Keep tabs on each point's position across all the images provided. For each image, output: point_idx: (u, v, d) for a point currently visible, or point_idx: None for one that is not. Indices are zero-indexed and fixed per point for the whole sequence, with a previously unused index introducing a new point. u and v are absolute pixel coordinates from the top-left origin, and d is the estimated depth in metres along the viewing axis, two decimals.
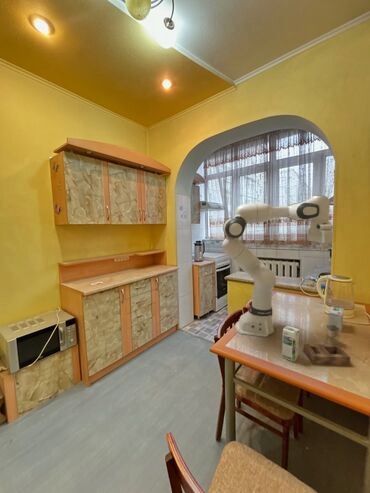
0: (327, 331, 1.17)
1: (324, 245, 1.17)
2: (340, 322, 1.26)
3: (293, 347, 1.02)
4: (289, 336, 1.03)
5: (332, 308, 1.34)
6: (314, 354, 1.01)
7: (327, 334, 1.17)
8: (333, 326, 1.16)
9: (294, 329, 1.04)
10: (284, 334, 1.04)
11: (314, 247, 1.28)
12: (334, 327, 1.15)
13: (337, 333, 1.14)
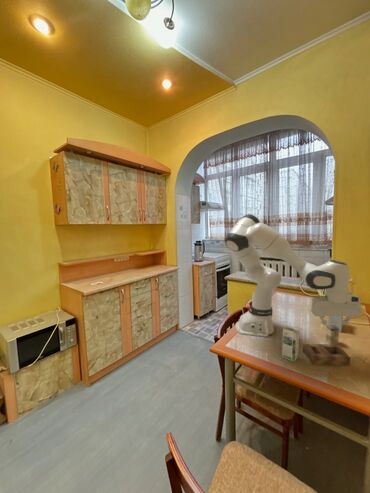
0: (327, 331, 1.17)
1: None
2: (340, 322, 1.26)
3: (293, 347, 1.02)
4: (289, 336, 1.03)
5: None
6: (314, 354, 1.01)
7: (327, 334, 1.17)
8: (333, 326, 1.16)
9: (294, 329, 1.04)
10: (284, 334, 1.04)
11: None
12: (334, 327, 1.15)
13: (337, 333, 1.14)
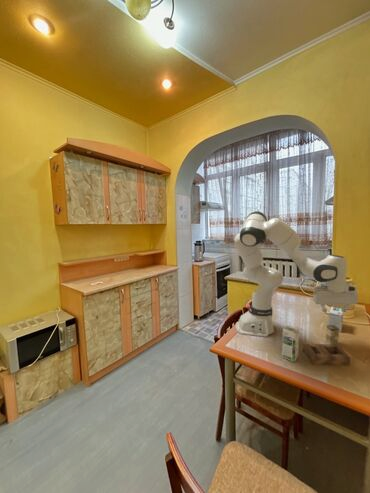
0: (327, 331, 1.17)
1: None
2: (340, 322, 1.26)
3: (293, 347, 1.02)
4: (289, 336, 1.03)
5: (332, 308, 1.34)
6: (314, 354, 1.01)
7: (327, 334, 1.17)
8: (333, 326, 1.16)
9: (294, 329, 1.04)
10: (284, 334, 1.04)
11: None
12: (334, 327, 1.15)
13: (337, 333, 1.14)
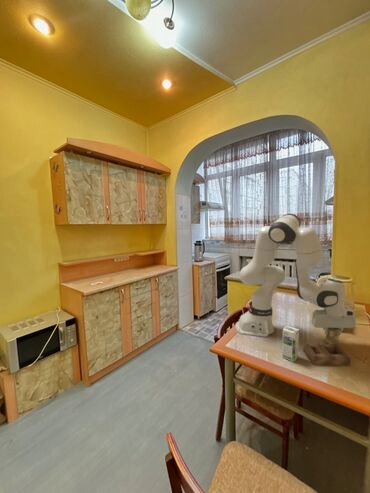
0: None
1: None
2: None
3: (293, 347, 1.02)
4: (289, 336, 1.03)
5: None
6: (314, 354, 1.01)
7: None
8: None
9: (294, 329, 1.04)
10: (284, 334, 1.04)
11: None
12: None
13: (337, 333, 1.14)
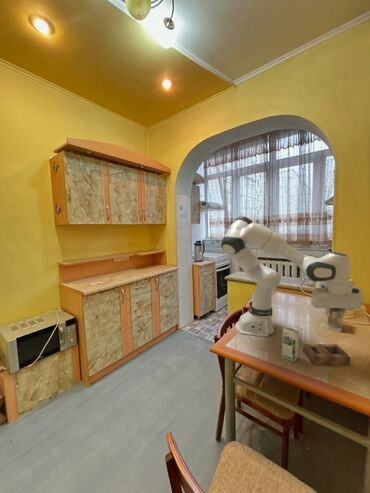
0: None
1: None
2: None
3: (293, 347, 1.02)
4: (289, 336, 1.03)
5: None
6: (314, 354, 1.01)
7: None
8: None
9: (294, 329, 1.04)
10: (284, 334, 1.04)
11: None
12: (337, 308, 1.01)
13: (340, 314, 0.99)
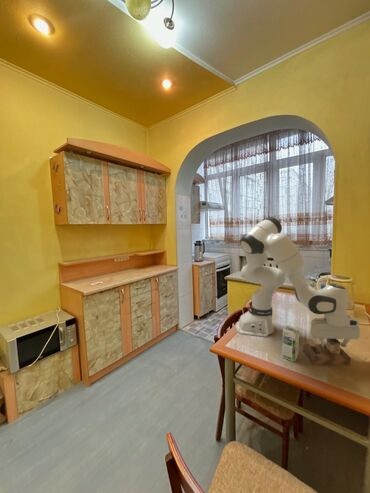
0: (327, 345, 1.05)
1: None
2: None
3: (293, 347, 1.02)
4: (289, 336, 1.03)
5: None
6: (314, 354, 1.01)
7: (327, 348, 1.05)
8: (334, 339, 1.04)
9: (294, 329, 1.04)
10: (284, 334, 1.04)
11: None
12: (335, 341, 1.03)
13: (338, 347, 1.02)
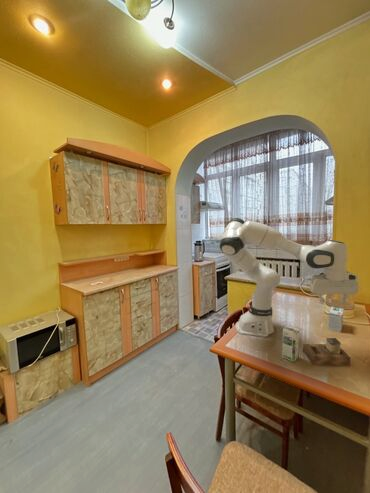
0: (327, 345, 1.05)
1: None
2: (340, 322, 1.26)
3: (293, 347, 1.02)
4: (289, 336, 1.03)
5: (332, 308, 1.34)
6: (314, 354, 1.01)
7: (327, 348, 1.05)
8: (334, 339, 1.04)
9: (294, 329, 1.04)
10: (284, 334, 1.04)
11: None
12: (335, 341, 1.03)
13: (338, 347, 1.02)
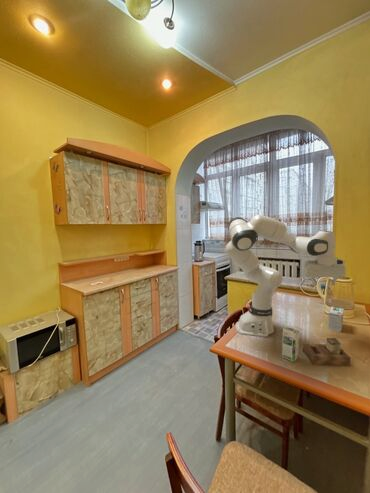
0: (327, 345, 1.05)
1: None
2: (340, 322, 1.26)
3: (293, 347, 1.02)
4: (289, 336, 1.03)
5: (332, 308, 1.34)
6: (314, 354, 1.01)
7: (327, 348, 1.05)
8: (334, 339, 1.04)
9: (294, 329, 1.04)
10: (284, 334, 1.04)
11: None
12: (335, 340, 1.03)
13: (338, 347, 1.02)
